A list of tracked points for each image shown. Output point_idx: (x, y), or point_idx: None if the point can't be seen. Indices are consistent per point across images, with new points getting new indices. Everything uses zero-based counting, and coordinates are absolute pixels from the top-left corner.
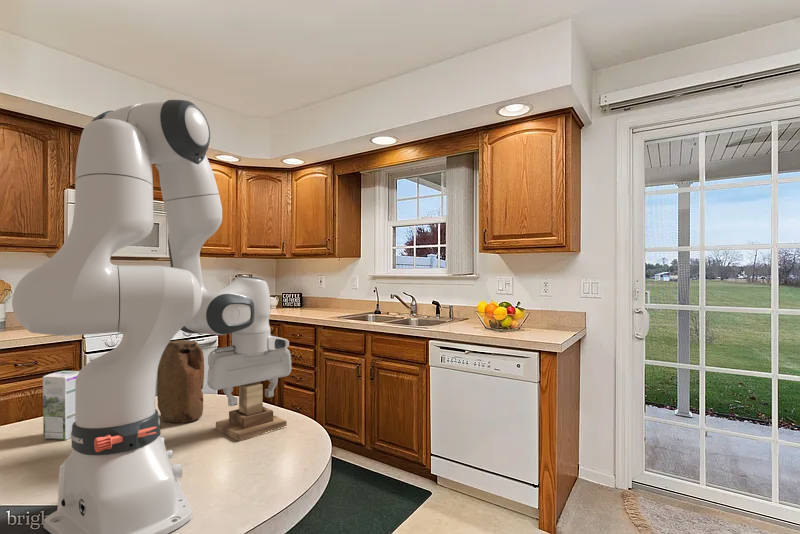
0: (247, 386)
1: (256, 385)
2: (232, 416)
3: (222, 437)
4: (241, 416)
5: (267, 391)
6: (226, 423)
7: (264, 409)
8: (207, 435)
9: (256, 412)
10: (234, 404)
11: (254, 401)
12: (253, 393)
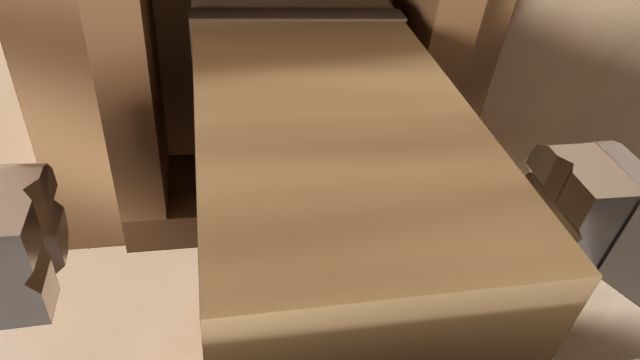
0: (532, 327)
1: (373, 303)
2: None
3: (529, 5)
4: (468, 23)
5: (35, 247)
6: None
7: (142, 60)
8: (541, 114)
9: (282, 20)
10: (584, 143)
11: (339, 98)
12: (397, 179)
